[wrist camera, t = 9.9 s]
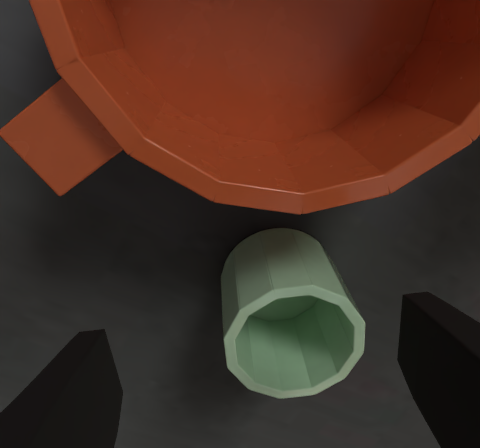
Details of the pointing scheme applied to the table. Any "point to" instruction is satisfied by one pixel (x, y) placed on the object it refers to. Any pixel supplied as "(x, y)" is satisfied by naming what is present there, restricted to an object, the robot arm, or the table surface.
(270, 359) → the container
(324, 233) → the table surface
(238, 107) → the pan
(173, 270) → the table surface
